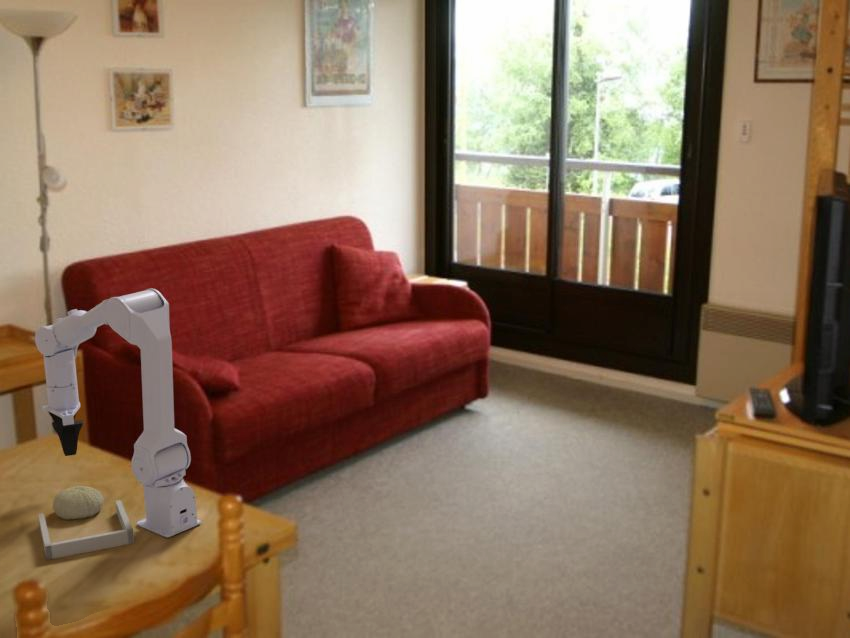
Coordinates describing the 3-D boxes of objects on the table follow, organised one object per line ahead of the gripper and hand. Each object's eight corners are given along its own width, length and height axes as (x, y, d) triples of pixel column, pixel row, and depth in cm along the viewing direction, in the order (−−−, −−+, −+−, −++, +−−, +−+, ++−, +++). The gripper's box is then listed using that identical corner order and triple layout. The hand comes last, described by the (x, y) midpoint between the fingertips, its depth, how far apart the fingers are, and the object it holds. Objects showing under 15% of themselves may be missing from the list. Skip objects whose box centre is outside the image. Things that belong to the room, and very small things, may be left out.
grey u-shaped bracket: (134, 543, 190) (133, 530, 189) (46, 559, 184) (45, 546, 183) (121, 511, 203) (120, 499, 202) (39, 526, 197) (38, 514, 196)
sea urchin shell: (99, 512, 198) (66, 485, 197) (72, 540, 200) (40, 513, 198) (114, 493, 207) (82, 466, 206) (88, 520, 209) (57, 493, 207)
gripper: (37, 376, 212) (44, 440, 215) (43, 396, 199) (50, 463, 202) (74, 371, 215) (80, 434, 218) (82, 391, 202) (88, 458, 205)
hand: (68, 448), depth 210 cm, fingers open, 7 cm apart
